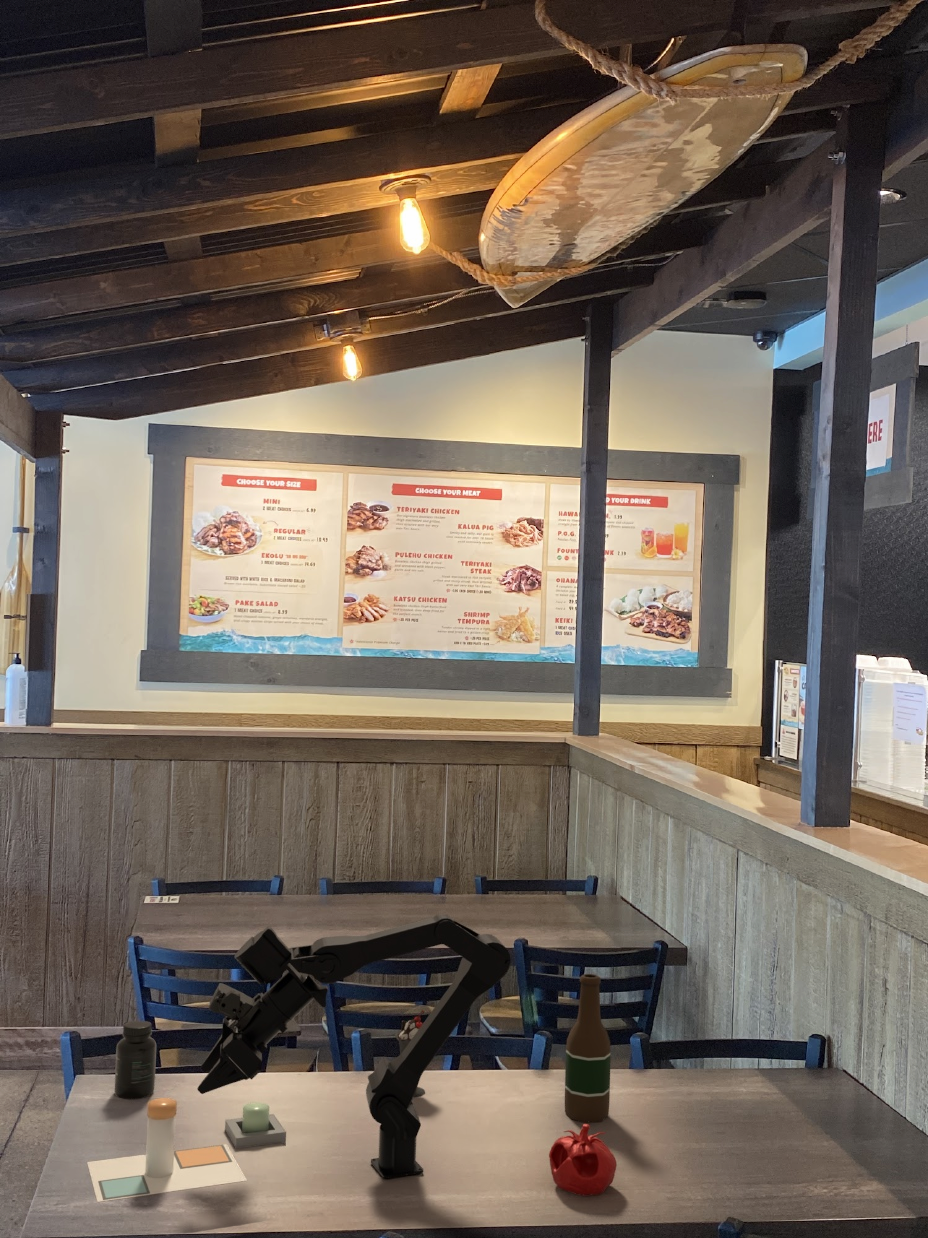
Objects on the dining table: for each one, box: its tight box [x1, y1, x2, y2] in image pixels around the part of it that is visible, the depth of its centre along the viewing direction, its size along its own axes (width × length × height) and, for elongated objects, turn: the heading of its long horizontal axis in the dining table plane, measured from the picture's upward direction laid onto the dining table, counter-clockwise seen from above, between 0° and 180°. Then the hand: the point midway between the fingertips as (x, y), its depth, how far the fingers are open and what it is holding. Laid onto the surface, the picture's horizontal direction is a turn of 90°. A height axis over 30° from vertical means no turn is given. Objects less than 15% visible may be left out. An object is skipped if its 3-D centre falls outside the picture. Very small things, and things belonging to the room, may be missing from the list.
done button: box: [242, 1102, 270, 1134], centre depth 187 cm, size 4×4×4 cm
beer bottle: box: [564, 973, 612, 1124], centre depth 203 cm, size 8×8×24 cm
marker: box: [145, 1097, 178, 1178], centre depth 172 cm, size 4×4×10 cm
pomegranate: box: [548, 1123, 618, 1197], centre depth 174 cm, size 10×10×9 cm
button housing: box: [224, 1113, 287, 1149], centre depth 186 cm, size 8×8×2 cm
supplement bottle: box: [114, 1020, 157, 1100], centre depth 206 cm, size 7×7×12 cm
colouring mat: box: [86, 1143, 248, 1203], centre depth 172 cm, size 14×21×1 cm, turn 113°
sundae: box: [395, 1009, 426, 1098], centre depth 211 cm, size 7×7×15 cm
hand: (200, 1080), depth 174 cm, fingers open, 9 cm apart
